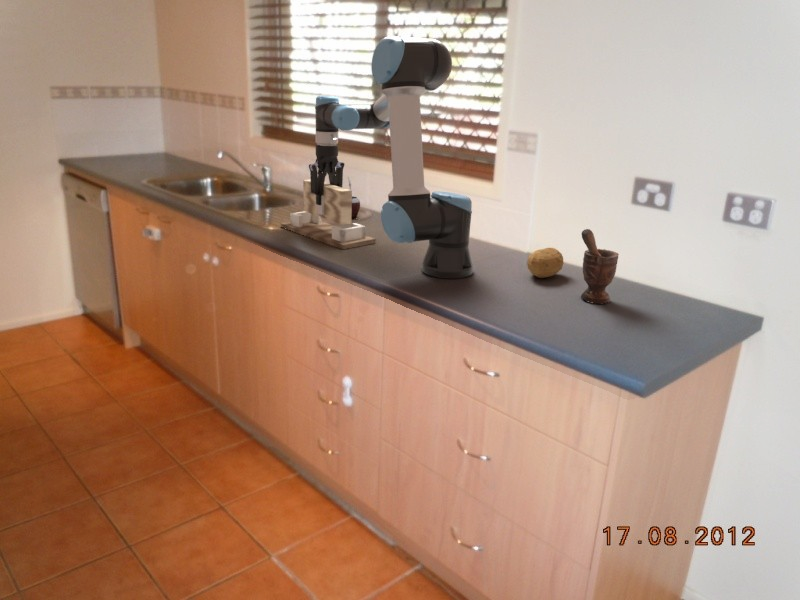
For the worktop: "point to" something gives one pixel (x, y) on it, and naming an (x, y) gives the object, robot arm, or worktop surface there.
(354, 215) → the mate gourd
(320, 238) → the walnut board
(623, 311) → the worktop surface
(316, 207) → the slat
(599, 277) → the mortar and pestle
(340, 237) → the end caps
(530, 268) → the potato
